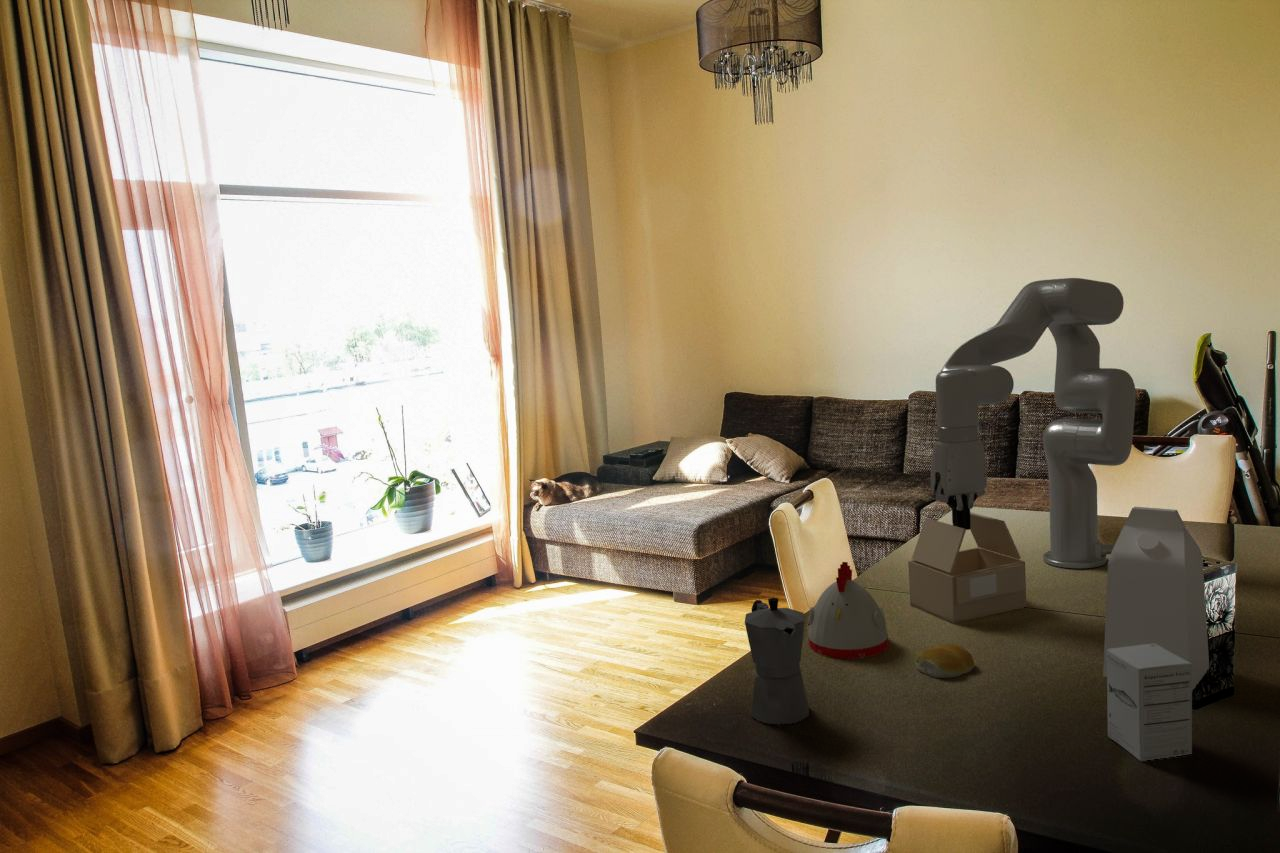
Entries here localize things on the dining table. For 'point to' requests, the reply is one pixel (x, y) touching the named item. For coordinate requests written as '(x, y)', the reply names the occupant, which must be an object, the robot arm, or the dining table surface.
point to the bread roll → (944, 661)
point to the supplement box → (1149, 701)
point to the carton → (969, 586)
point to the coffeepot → (777, 663)
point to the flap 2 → (992, 535)
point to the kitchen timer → (847, 620)
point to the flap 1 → (938, 544)
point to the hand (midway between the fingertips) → (961, 528)
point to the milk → (1157, 589)
